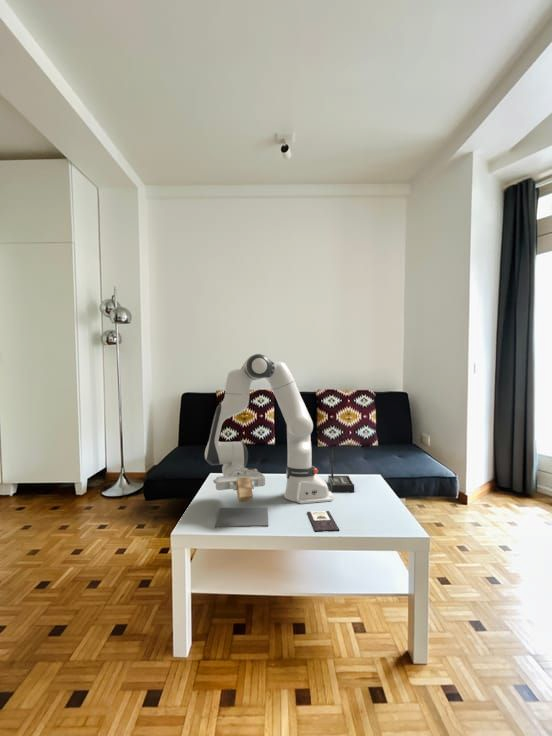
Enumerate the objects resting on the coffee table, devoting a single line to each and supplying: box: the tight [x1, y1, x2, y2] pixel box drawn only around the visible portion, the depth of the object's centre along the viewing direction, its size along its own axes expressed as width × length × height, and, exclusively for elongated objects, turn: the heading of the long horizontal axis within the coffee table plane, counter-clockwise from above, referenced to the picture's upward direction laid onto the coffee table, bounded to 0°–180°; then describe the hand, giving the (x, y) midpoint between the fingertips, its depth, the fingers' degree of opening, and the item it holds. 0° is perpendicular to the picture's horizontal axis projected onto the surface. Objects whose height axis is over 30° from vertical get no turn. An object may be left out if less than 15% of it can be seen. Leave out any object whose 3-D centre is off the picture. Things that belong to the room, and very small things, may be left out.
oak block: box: [236, 477, 254, 503], centre depth 150 cm, size 5×4×8 cm
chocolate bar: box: [306, 510, 340, 533], centre depth 149 cm, size 9×1×18 cm
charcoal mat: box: [214, 506, 269, 528], centre depth 153 cm, size 20×18×1 cm
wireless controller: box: [327, 448, 355, 493], centre depth 193 cm, size 20×14×17 cm
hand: (244, 487), depth 150 cm, fingers closed on oak block, 5 cm apart
